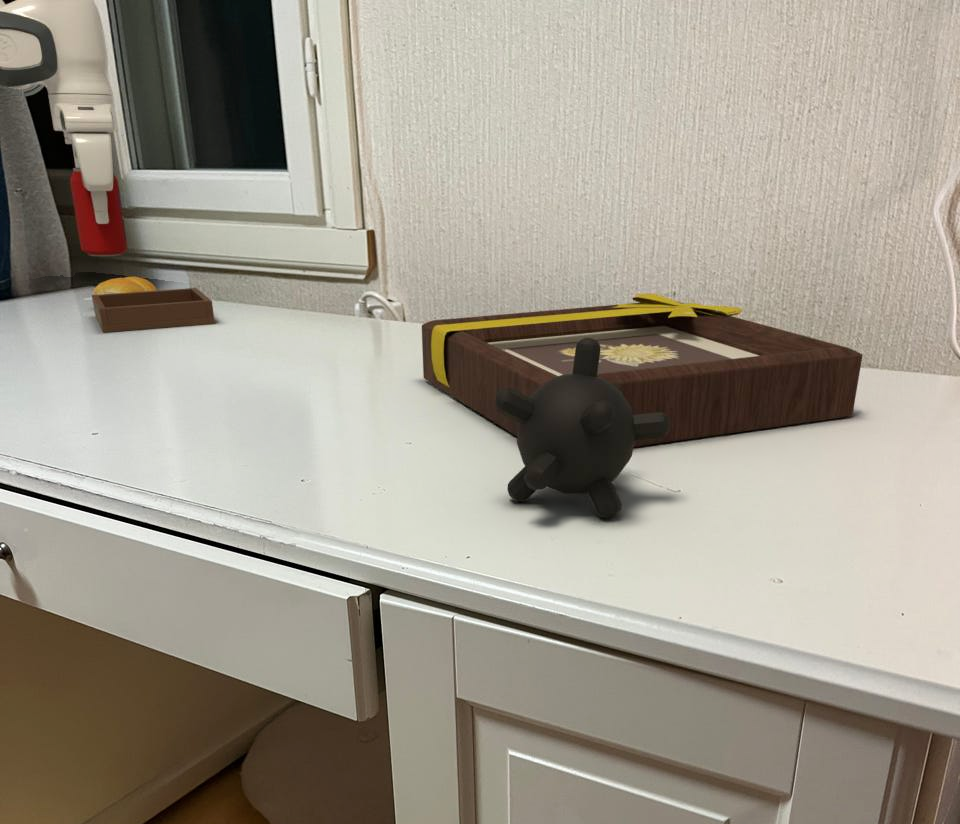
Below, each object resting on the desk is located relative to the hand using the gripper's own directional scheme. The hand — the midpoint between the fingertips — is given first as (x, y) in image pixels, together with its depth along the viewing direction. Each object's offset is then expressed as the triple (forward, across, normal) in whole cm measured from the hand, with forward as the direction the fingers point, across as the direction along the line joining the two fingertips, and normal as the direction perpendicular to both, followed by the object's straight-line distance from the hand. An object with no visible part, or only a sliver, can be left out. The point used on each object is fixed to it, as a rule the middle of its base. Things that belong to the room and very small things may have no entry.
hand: (100, 221), depth 149 cm
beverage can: (+5, 0, 0) cm, 5 cm away
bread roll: (+10, +18, +1) cm, 21 cm away
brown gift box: (+9, +94, +37) cm, 101 cm away
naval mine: (+9, +117, +20) cm, 119 cm away
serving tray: (+10, +32, +3) cm, 33 cm away
